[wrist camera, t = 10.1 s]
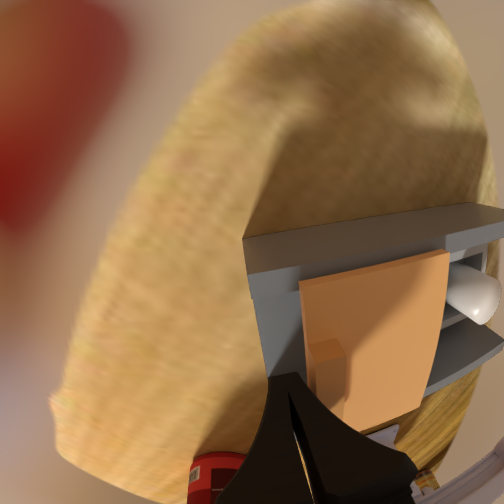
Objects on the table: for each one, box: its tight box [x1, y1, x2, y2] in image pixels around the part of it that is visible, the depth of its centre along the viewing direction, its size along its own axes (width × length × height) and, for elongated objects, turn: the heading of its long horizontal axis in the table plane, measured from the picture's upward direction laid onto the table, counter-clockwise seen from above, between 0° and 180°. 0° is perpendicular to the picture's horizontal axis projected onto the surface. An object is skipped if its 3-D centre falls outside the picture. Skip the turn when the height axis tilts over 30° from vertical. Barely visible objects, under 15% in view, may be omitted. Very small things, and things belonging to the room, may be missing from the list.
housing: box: [242, 202, 504, 441], centre depth 15 cm, size 11×19×6 cm, turn 99°
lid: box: [298, 249, 450, 432], centre depth 10 cm, size 10×7×2 cm
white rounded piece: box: [445, 261, 502, 325], centre depth 15 cm, size 3×3×5 cm
